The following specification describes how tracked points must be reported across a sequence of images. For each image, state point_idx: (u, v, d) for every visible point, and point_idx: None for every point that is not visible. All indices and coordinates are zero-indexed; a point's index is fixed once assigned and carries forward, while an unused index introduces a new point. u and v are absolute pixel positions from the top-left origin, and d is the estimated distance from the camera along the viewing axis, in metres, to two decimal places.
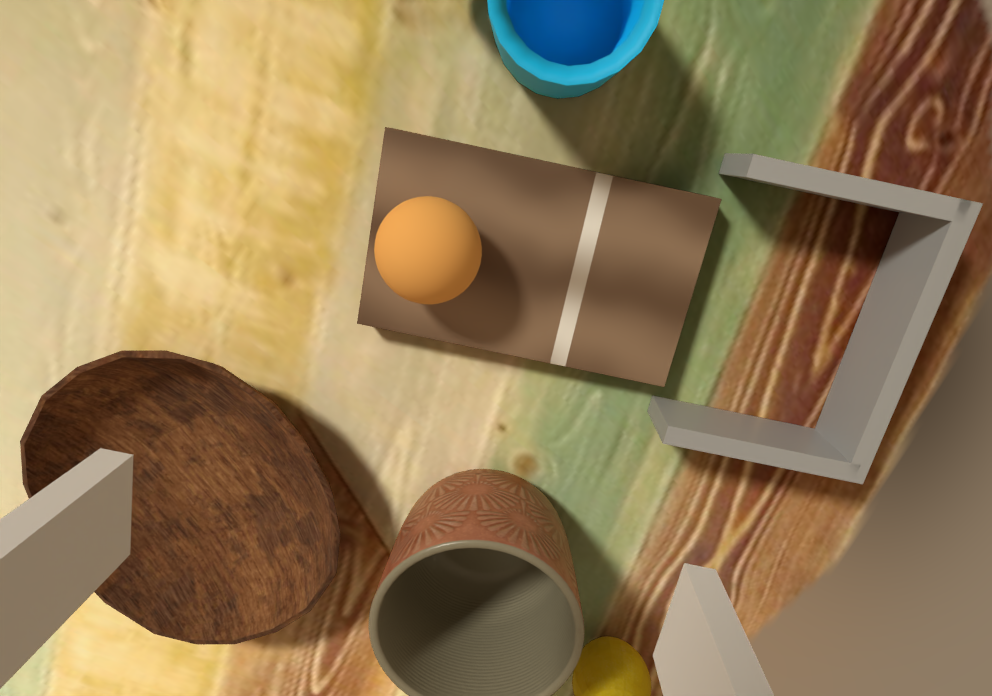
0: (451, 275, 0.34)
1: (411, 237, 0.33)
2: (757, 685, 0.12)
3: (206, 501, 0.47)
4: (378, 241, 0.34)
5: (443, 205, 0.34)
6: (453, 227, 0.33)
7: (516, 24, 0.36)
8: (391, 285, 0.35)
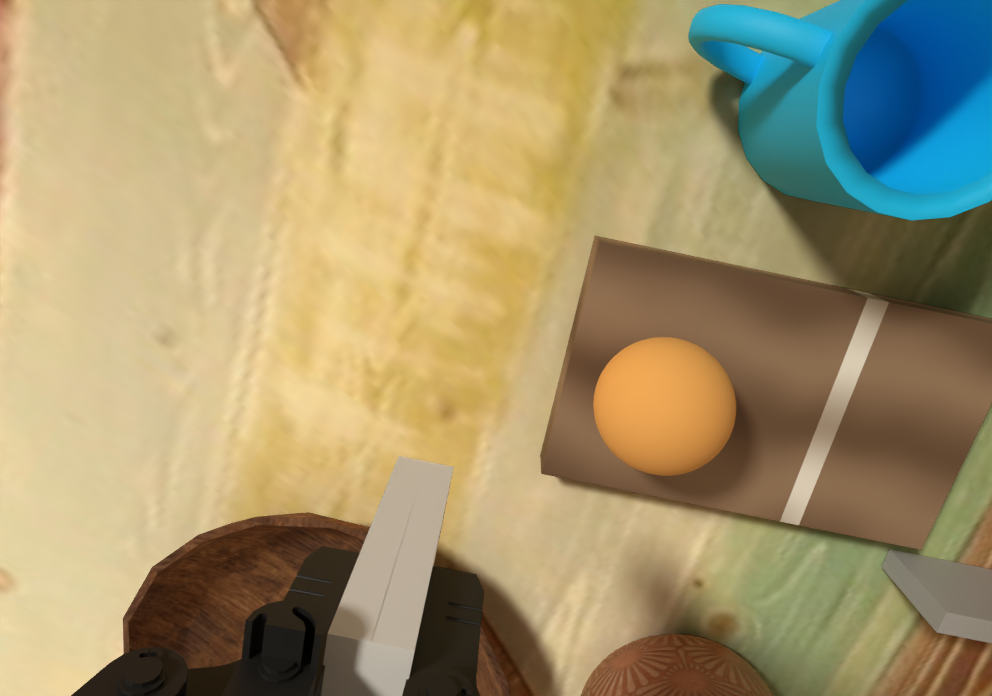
0: (711, 450, 0.26)
1: (667, 407, 0.25)
2: (427, 540, 0.14)
3: None
4: (611, 402, 0.26)
5: (698, 356, 0.26)
6: (717, 390, 0.25)
7: None
8: (623, 456, 0.27)
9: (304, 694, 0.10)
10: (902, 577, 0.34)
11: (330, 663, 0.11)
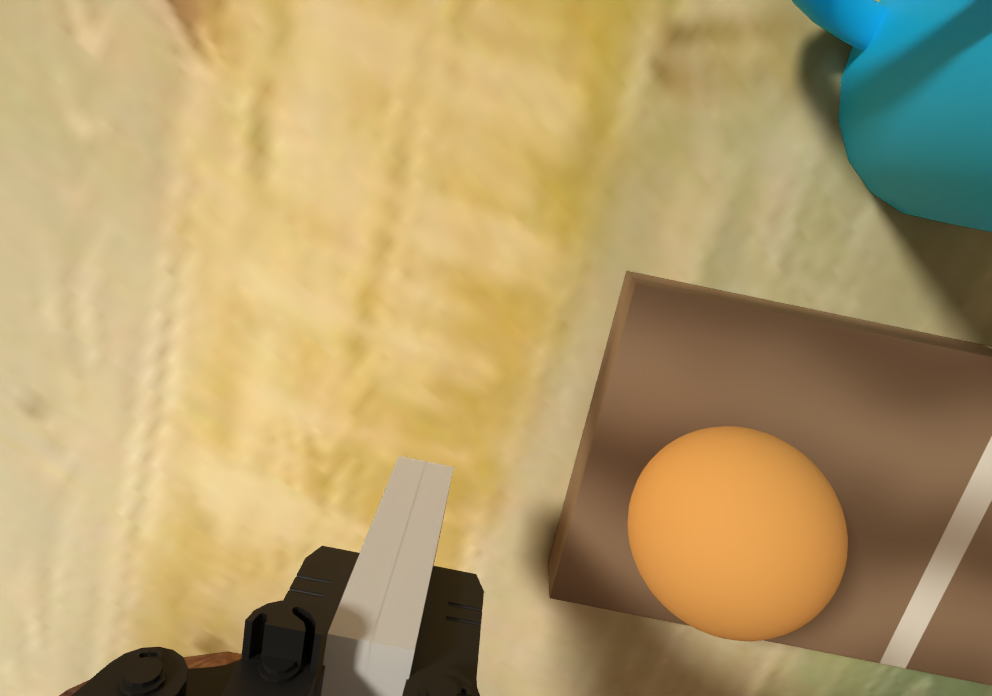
0: (815, 613, 0.17)
1: (751, 554, 0.16)
2: (427, 540, 0.14)
3: None
4: (658, 535, 0.17)
5: (794, 466, 0.17)
6: (827, 523, 0.16)
7: None
8: (676, 613, 0.18)
9: (304, 694, 0.10)
10: None
11: (330, 663, 0.11)
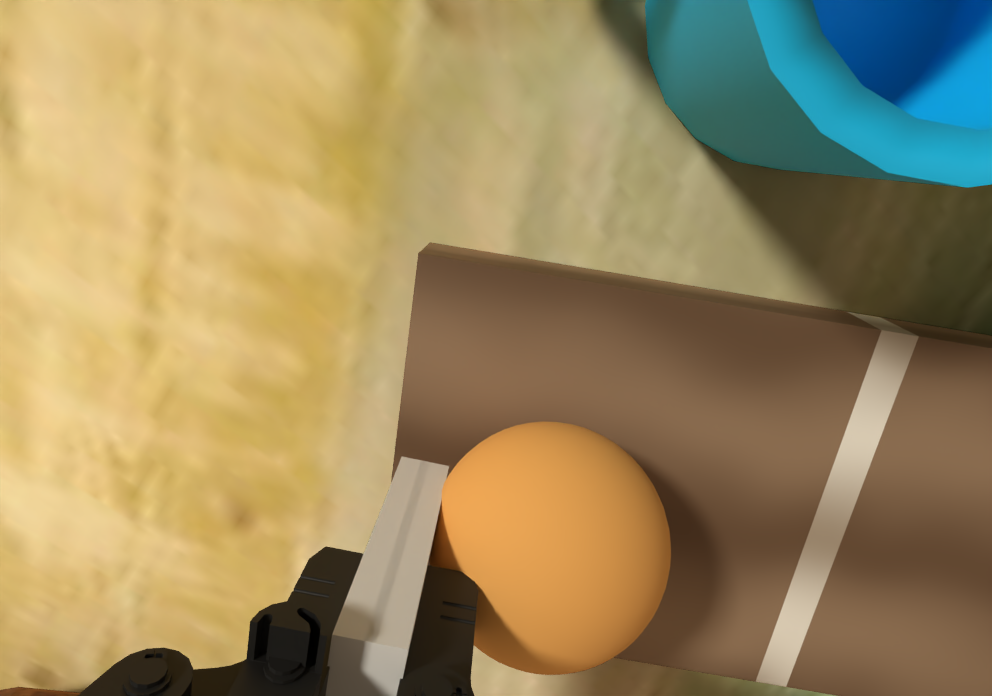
0: (635, 635, 0.14)
1: (548, 586, 0.13)
2: (422, 539, 0.14)
3: None
4: None
5: (599, 468, 0.14)
6: (637, 533, 0.14)
7: None
8: None
9: (309, 695, 0.10)
10: None
11: (335, 664, 0.11)
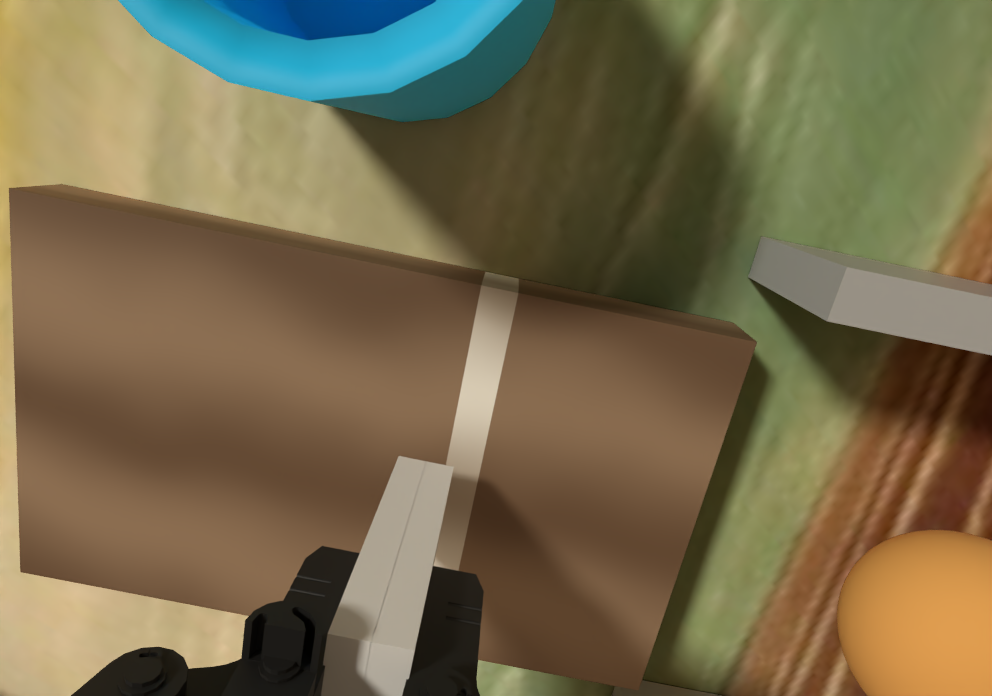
0: None
1: None
2: (427, 540, 0.14)
3: None
4: None
5: None
6: None
7: None
8: None
9: (304, 694, 0.10)
10: None
11: (330, 663, 0.11)
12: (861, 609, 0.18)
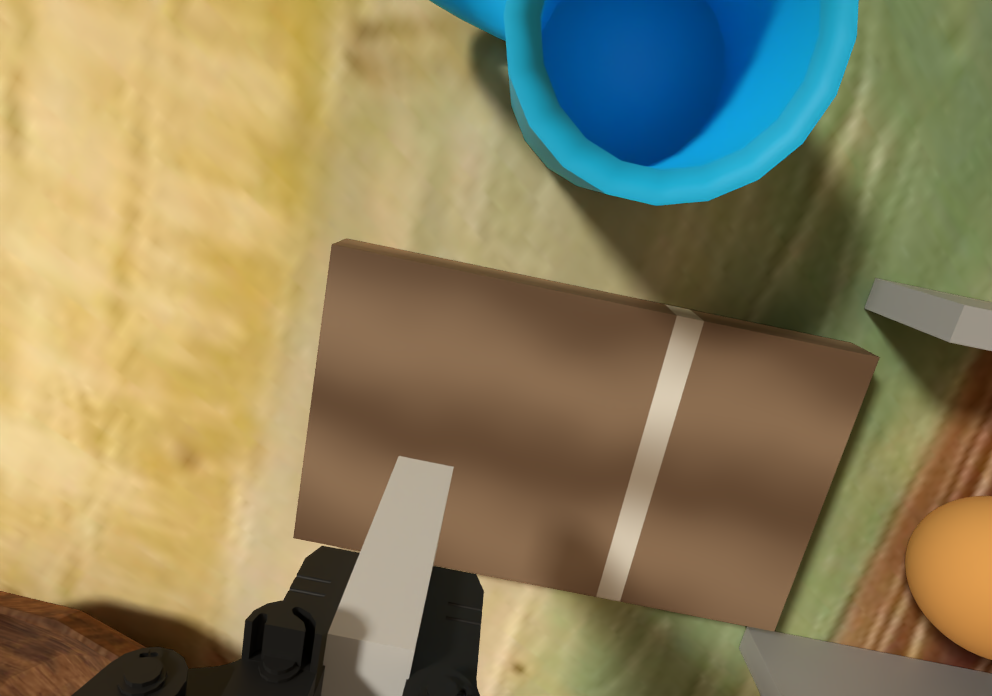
0: None
1: None
2: (427, 540, 0.14)
3: None
4: None
5: None
6: None
7: None
8: None
9: (304, 694, 0.10)
10: (756, 664, 0.27)
11: (330, 663, 0.11)
12: (916, 540, 0.25)
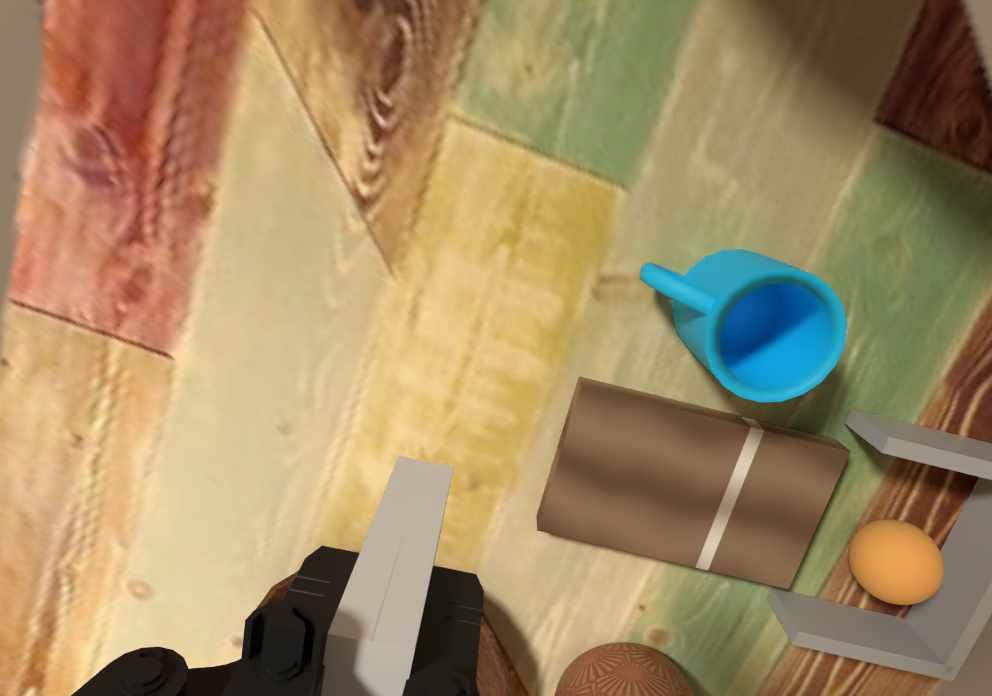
0: None
1: (937, 579, 0.44)
2: (427, 540, 0.14)
3: None
4: (903, 583, 0.44)
5: (928, 538, 0.46)
6: None
7: None
8: (897, 603, 0.46)
9: (304, 694, 0.10)
10: (777, 607, 0.50)
11: (330, 663, 0.11)
12: (853, 536, 0.49)
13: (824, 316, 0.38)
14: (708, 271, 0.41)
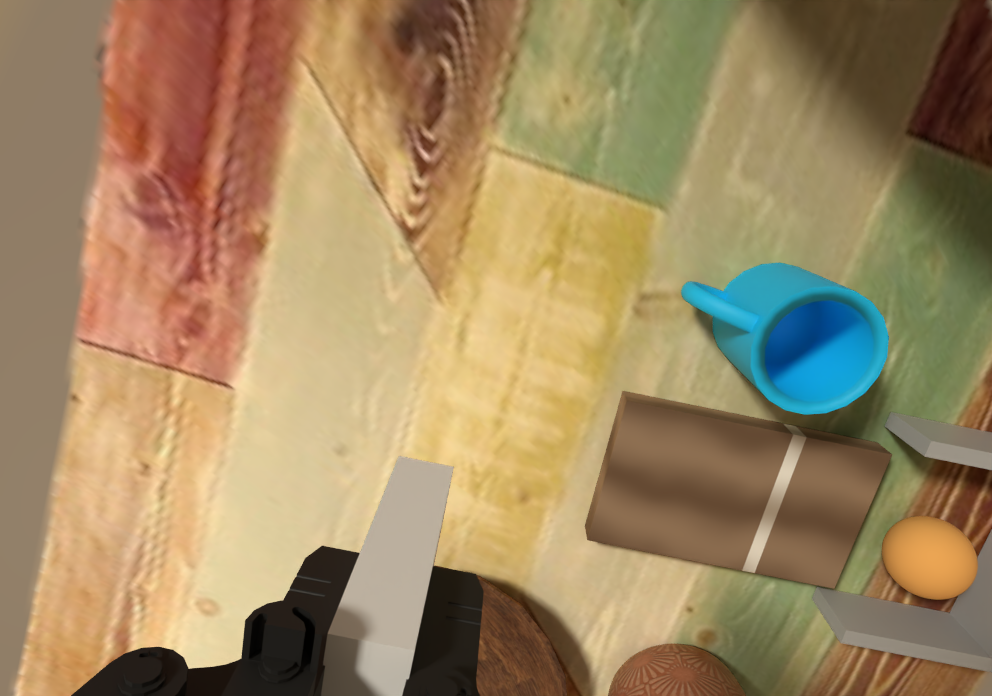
0: None
1: (962, 574, 0.45)
2: (427, 540, 0.14)
3: None
4: (924, 573, 0.46)
5: (960, 535, 0.46)
6: (975, 553, 0.46)
7: None
8: (925, 596, 0.47)
9: (304, 694, 0.10)
10: (823, 606, 0.51)
11: (330, 663, 0.11)
12: None
13: (866, 329, 0.39)
14: (748, 287, 0.43)
